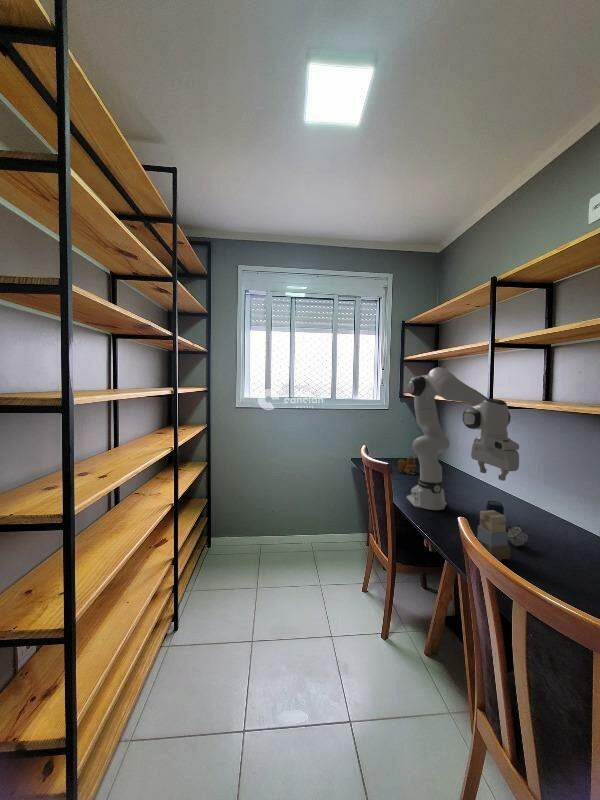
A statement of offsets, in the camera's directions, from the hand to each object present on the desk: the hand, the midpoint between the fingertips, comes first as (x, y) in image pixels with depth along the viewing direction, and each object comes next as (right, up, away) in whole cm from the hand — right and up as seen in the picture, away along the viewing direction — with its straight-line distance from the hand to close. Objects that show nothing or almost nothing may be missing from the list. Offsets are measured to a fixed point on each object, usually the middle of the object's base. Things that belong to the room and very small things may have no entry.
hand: (492, 476), depth 121 cm
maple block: (-1, -20, -1) cm, 20 cm away
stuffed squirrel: (+6, -26, +114) cm, 117 cm away
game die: (+13, -30, +5) cm, 33 cm away
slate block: (-1, -25, -1) cm, 25 cm away
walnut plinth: (-1, -30, -1) cm, 30 cm away
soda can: (+14, -29, +21) cm, 38 cm away
